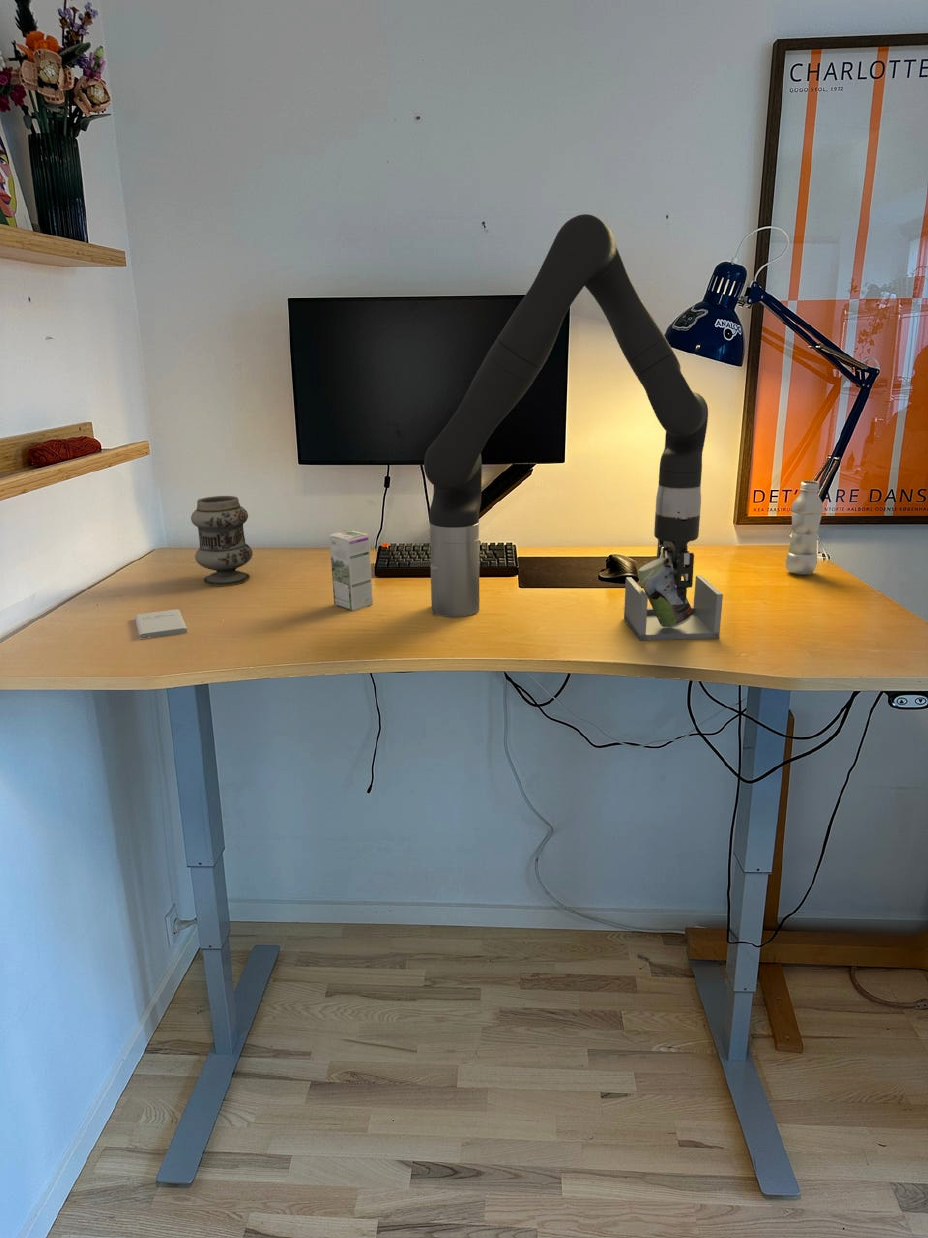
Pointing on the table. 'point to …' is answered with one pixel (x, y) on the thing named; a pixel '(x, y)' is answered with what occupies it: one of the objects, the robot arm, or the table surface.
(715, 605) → the holder
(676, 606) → the beverage can
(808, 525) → the plastic bottle
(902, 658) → the table surface
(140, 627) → the external hard drive
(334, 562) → the syrup box
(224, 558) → the apothecary jar
